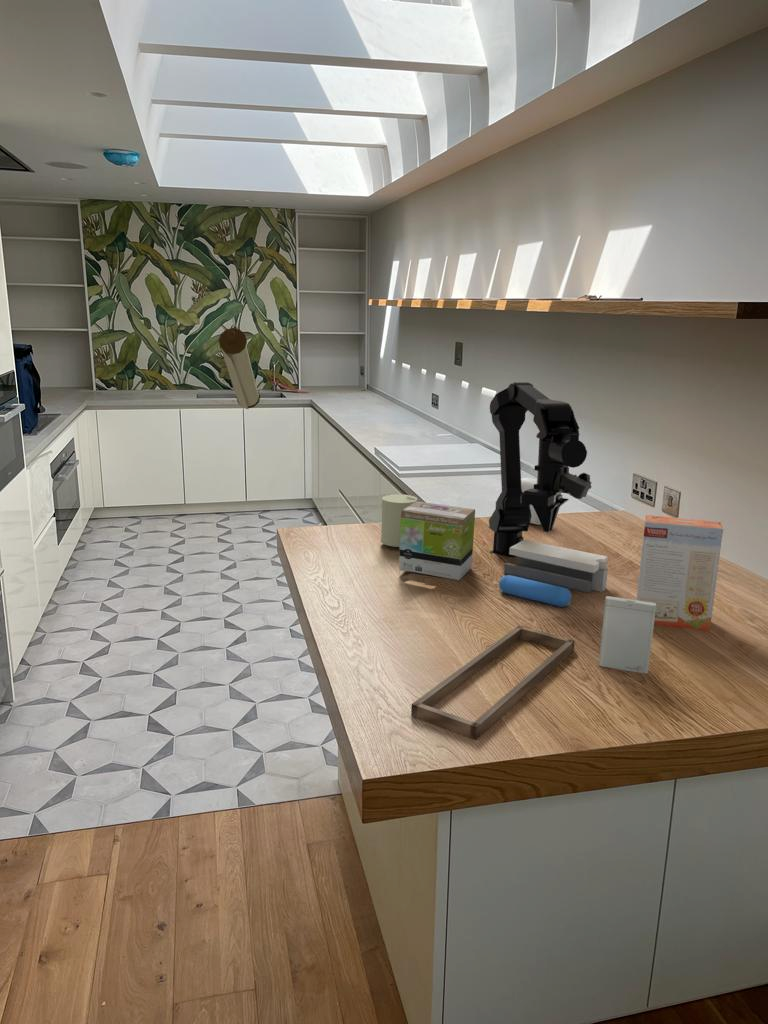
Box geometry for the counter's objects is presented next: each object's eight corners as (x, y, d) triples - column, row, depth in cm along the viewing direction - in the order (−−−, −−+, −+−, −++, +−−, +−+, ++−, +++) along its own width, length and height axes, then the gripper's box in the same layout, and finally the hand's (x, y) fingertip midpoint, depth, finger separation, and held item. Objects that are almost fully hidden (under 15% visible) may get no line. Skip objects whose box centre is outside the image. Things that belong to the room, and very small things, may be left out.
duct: (504, 574, 181) (505, 554, 180) (518, 565, 187) (519, 546, 186) (597, 595, 169) (599, 574, 168) (609, 585, 175) (611, 565, 174)
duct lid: (509, 554, 179) (509, 547, 179) (523, 546, 185) (524, 539, 185) (599, 573, 167) (600, 566, 167) (612, 564, 174) (612, 557, 173)
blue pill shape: (495, 593, 169) (496, 576, 168) (503, 588, 172) (504, 571, 171) (566, 611, 160) (567, 592, 159) (573, 605, 163) (575, 587, 162)
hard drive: (647, 674, 133) (656, 606, 130) (598, 666, 136) (605, 598, 133) (648, 670, 135) (656, 602, 131) (599, 662, 137) (606, 595, 134)
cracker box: (708, 622, 156) (722, 520, 151) (709, 633, 151) (724, 528, 145) (634, 611, 160) (645, 512, 155) (633, 622, 155) (645, 520, 149)
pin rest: (411, 716, 118) (411, 704, 118) (517, 635, 148) (518, 625, 147) (476, 739, 112) (476, 727, 112) (573, 650, 142) (574, 640, 141)
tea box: (397, 571, 181) (399, 509, 177) (412, 559, 190) (414, 499, 186) (460, 581, 176) (463, 517, 172) (472, 568, 185) (476, 507, 181)
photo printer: (509, 518, 228) (512, 476, 225) (519, 516, 231) (522, 474, 228) (537, 526, 220) (540, 483, 217) (546, 523, 223) (550, 481, 220)
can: (416, 547, 199) (418, 501, 196) (380, 546, 199) (381, 500, 196) (415, 536, 208) (417, 492, 205) (380, 536, 208) (381, 491, 205)
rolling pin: (237, 313, 138) (210, 324, 138) (250, 339, 137) (223, 350, 136) (255, 388, 169) (234, 397, 169) (266, 410, 168) (244, 419, 167)
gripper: (572, 469, 159) (567, 544, 162) (602, 459, 174) (597, 528, 177) (520, 464, 165) (517, 537, 168) (554, 455, 180) (550, 522, 183)
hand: (547, 531), depth 174 cm, fingers closed
